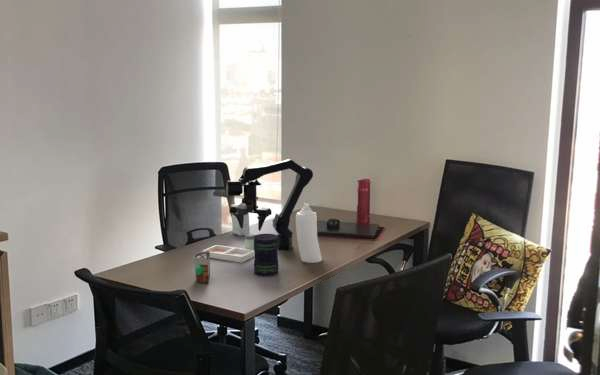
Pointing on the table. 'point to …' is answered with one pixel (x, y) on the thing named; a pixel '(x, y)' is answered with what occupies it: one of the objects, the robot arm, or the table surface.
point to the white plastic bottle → (307, 235)
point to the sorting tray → (230, 253)
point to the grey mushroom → (249, 241)
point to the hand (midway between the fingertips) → (250, 229)
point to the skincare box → (236, 226)
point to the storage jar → (266, 255)
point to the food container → (202, 266)
